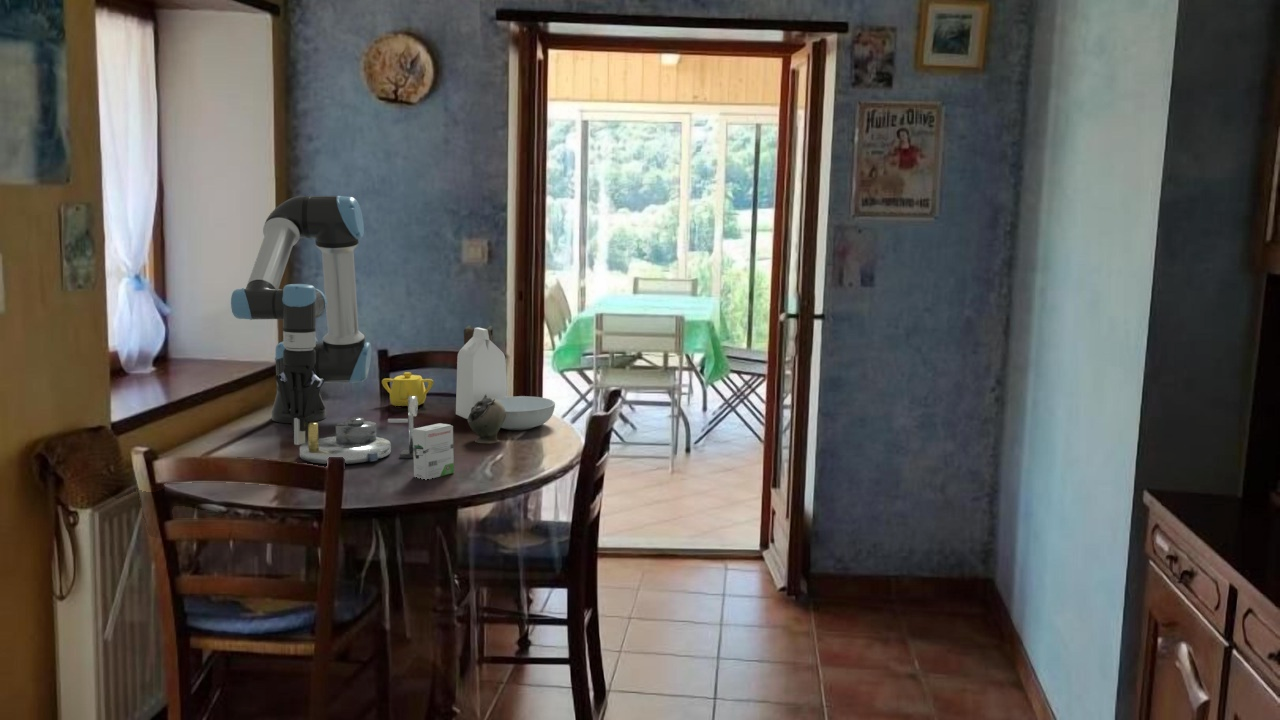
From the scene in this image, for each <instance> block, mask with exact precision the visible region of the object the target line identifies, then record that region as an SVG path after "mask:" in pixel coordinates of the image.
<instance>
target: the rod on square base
mask: <svg viewBox="0 0 1280 720" xmlns="http://www.w3.org/2000/svg"><path fill="white" fill-rule="evenodd" d="M418 408H419V405H418V400H417V396H409V397H408V406H407V414H408V415H407V416H408V418H388V419H387V423H390V424H391V423H392V424H393V423H397V424H399V423H401V424H402V423H404V424H405V423H407V424H408V448H409V449H403V450H401V452H400V454H399V458H400V459H414V457H413V429H415V427H414V417H417V416H418V411H419V410H418Z"/></svg>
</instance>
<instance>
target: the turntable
mask: <svg viewBox="0 0 1280 720" xmlns="http://www.w3.org/2000/svg"><path fill="white" fill-rule="evenodd" d="M307 439H308V440H307V442H306V441H305V443H303V444H300V446H299V457H300V458H301V459H302V460H303V461H306V462H310V463H315V464H323V465H324V464H325V465H327V464H326V463H327V459H328V458H329V457H343V458H344V459H345V463H346V464H348V465H349V464H358V463H364V462H376V461H379V459H382V458H384V457H387V456H389V455H390V454H391V451H392V446H391V445H392V444H391V441H390V440H388V439H386V438H383V437H379V436H376V441H374V442H371V443H366V444H355V445H349V444H340V443H337V442H336V435H335V436H327V437H321V438H319V422H317V421H313V422H307ZM346 464H345V465H346Z"/></svg>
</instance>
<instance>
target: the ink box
mask: <svg viewBox="0 0 1280 720" xmlns="http://www.w3.org/2000/svg"><path fill="white" fill-rule="evenodd" d="M413 457H414V458H413V477H414V478H416V477H417V478H416V479H420V478H421V479H420V480H423V479H425V481H427V479H429V480H432V478H433V479H435V478H436V479H437V478H440V477H444V476H447V475H451V474H454V473H455V463H454V462H455V461H454V460H455V459H454V458H455V457H454V426H453V425H451V424H448V423H441V422H440V423H434V424H430V425H425V426H421V427H420V426H419V427H416V428H415V427H414V429H413Z"/></svg>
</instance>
